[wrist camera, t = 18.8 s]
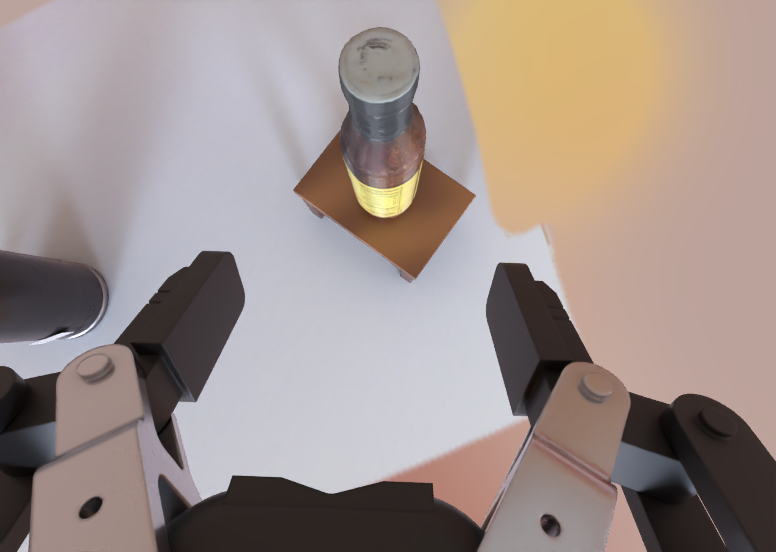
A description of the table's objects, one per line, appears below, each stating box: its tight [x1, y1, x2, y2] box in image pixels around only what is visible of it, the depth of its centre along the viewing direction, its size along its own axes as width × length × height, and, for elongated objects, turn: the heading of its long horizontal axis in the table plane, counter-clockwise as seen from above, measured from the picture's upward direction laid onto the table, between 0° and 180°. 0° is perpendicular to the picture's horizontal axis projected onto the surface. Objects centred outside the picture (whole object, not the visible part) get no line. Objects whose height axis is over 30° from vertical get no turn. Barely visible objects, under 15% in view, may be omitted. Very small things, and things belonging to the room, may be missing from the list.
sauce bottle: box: [339, 27, 426, 218], centre depth 27 cm, size 6×6×20 cm
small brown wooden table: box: [293, 131, 476, 283], centre depth 41 cm, size 16×11×8 cm
